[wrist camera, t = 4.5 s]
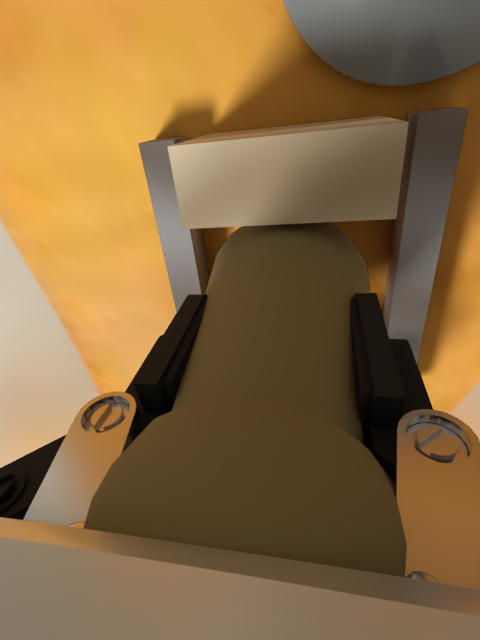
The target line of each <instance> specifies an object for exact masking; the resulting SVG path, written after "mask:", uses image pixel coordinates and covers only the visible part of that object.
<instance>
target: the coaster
mask: <svg viewBox="0 0 480 640" xmlns="http://www.w3.org/2000/svg"><path fill="white" fill-rule="evenodd" d="M283 2H284V5H285V7H286V9H287V12H288V14H289V16H290V19H291V20H292V22H293V24H294V25H295V27H296V29H297V30H298V32H299V34H300V35H301V37H302V38H303V39H304V41H305V42H306V43H307V44H308V46H309V47H310V48H311V49H312V51H313V52H314V53H315V54H316V55H318V56H319V57H320V58H321V59H322V60H323V61H324V62H325V63H326V64H328V65H329V66H331V67H332V68H334V69H335V70H337V71H338V72H340V73H342V74H344V75H346V76H348V77H350V78H353V79H355V80H358V81H361V82H365V83H369V84H373V85H382V86H406V85H414V84H419V83H424V82H429V81H434V80H437V79H440V78H443V77H446V76H449V75H452V74H455V73H457V72H459V71H461V70H463V69H465V68H467V67H470V66H472V65H474V64H476V63H477V62H479V61H480V0H283Z"/></svg>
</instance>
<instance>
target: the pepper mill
mask: <svg viewBox="0 0 480 640" xmlns="http://www.w3.org/2000/svg"><path fill="white" fill-rule="evenodd" d="M355 293H370V284H369V278H368V271H367V265H366V262H365V260H364V258H363V256H362V255H361V253H360V251H359V249H358V248H357V246H356V244H355V243H354V241H353V240H352V239H351V238H350V237H348V236H347V235H346V234H345V233H344V232H342V231H341V230H340V229H339V228H338V227H336V226H335V225H334V224H333V223H330V222H322V223H301V224H280V225H259V226H242V227H241V228H239V229H238V230H236V231H235V232H233V233H232V234H231V235H230V236H229V238H228V239H227V240H226V242H225V243H224V244H223V246H222V247H221V249H220V250H219V251H218V253H217V255H216V259H215V262H214V265H213V269H212V272H211V276H210V279H209V283H208V286H207V290H206V293H205V294H206V295H207V298H206V299H207V302H206V306H205V311H204V315H203V318H202V321H201V324H200V326H199V329H198V332H197V335H196V338H195V341H194V343H193V346H192V349H191V352H190V355H189V358H188V360H187V363H186V366H185V369H184V372H183V375H182V378H181V381H180V385H179V388H178V391H177V395H176V398H175V402H174V405H173V409H172V411H171V412H169V413H166V414H164V415H162V416H159V417H157V418H155V419H154V420H153V421H152V422H151V423H150V424H149V425H148V426H147V427H146V428H145V429H144V430H143V431H142V433H141V434H140V435H139V436H138V437H137V438H136V439H135V440H134V441H133V442H132V443H131V444H130V445H129V446H128V447H127V449H126V450H125V451H124V452H123V453H122V454H121V455H120V456H119V457H118V458H117V459H116V460H115V462H114V463H113V464H112V465H111V467H110V468H109V470H108V472H107V474H106V475H105V477H104V479H103V480H102V482H101V484H100V486H99V487H98V489H97V491H96V492H95V494H94V496H93V498H92V500H91V504H90V507H89V510H88V514H87V517H86V520H85V524H84V527H83V529H90V530H96V531H103V532H110V533H117V534H124V535H131V536H138V537H144V538H151V539H158V540H164V541H171V542H178V543H184V544H191V545H198V546H204V547H211V548H218V549H224V550H231V551H237V552H244V553H251V554H257V555H264V556H270V557H277V558H284V559H290V560H297V561H303V562H309V563H316V564H322V565H329V566H335V567H341V568H348V569H354V570H361V571H367V572H373V573H380V574H386V575H393V576H399V577H405V568H406V553H407V542H406V538H405V534H404V529H403V525H402V521H401V516H400V512H399V508H398V503H397V499H396V494H395V490H394V485H393V482H392V480H391V479H390V477H389V476H388V475H387V473H386V472H385V471H384V469H383V468H382V467H381V465H380V464H379V463H378V461H377V460H376V459H375V457H374V456H373V455H372V453H371V452H370V450H369V449H368V448H366V440H365V436H364V431H363V427H362V422H361V421H360V419H359V409H358V398H357V387H356V375H355V364H354V353H353V341H352V330H351V319H350V304H351V299H352V298H355Z"/></svg>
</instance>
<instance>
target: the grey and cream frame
mask: <svg viewBox="0 0 480 640" xmlns="http://www.w3.org/2000/svg"><path fill="white" fill-rule="evenodd" d="M467 114H468V108H445V109H436V110H426V111H417V112H408V120H407V121H403V120H398V119H394V118H390V117H386V116H382V115H380V116H370V117H361V118H352V119H342V120H333V121H324V122H314V123H305V124H296V125H286V126H277V127H268V128H258V129H249V130H240V131H230V132H221V133H212V134H206V135H203V136H200V137H196V138H193V139H190V140H187V136H184V137H174V138H165V139H156V140H151V141H147V142H142V143H138V144H139V148H140V153H141V157H142V161H143V166H144V170H145V175H146V179H147V183H148V188H149V192H150V197H151V201H152V205H153V210H154V214H155V219H156V223H157V227H158V232H159V236H160V241H161V245H162V249H163V254H164V258H165V263H166V267H167V272H168V276H169V280H170V285H171V289H172V294H173V298H174V302H175V307H176V311H177V312H178V310H179V308H180V307H181V305H182V304H183V302H184V300H185V299H186V297H187V296H188V295H190V294H205V293H206V290H207V286H208V283H209V279H210V278H209V272H208V266H207V259H206V253H205V247H204V241H203V235H202V228H217V227H238V226H259V225H280V224H301V223H322V222H343V221H364V220H385V219H395V222H394V230H393V238H392V246H391V254H390V262H389V270H388V278H387V285H386V293H385V301H384V309H383V319H384V322H385V326H386V329H387V333H388V336H389V339H407V340H408V342H409V344H410V346H411V349H412V352H413V355H414V358H415V360H416V363H417V361H418V356H419V351H420V346H421V341H422V336H423V331H424V326H425V322H426V317H427V312H428V307H429V302H430V297H431V292H432V287H433V282H434V277H435V272H436V267H437V262H438V257H439V252H440V247H441V242H442V238H443V233H444V228H445V223H446V218H447V213H448V208H449V203H450V198H451V193H452V188H453V183H454V178H455V173H456V168H457V163H458V158H459V154H460V149H461V144H462V139H463V134H464V129H465V124H466V119H467Z"/></svg>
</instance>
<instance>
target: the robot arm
mask: <svg viewBox="0 0 480 640" xmlns="http://www.w3.org/2000/svg"><path fill="white" fill-rule="evenodd" d="M206 298H207V295H206V294H190V295H188V296H187V297H186V299H185V300H184V302H183V304H182V305H181V307H180V308H179V310H178V312H177V313H176V315H175V317H174V318H173V320H172V322H171V323H170V325H169V327H168V328H167V330H166V332H165V333H164V335H161V336H160V337H159V338H158V340H157V341H156V343H155V345H154V346H153V348H152V349H151V351H150V353H149V354H148V356H147V357H146V359H145V361H144V362H143V364H142V366H141V367H140V369H139V370H138V372H137V374H136V375H135V377H134V378H133V380H132V382H131V383H130V385H129V387H128V388H127V390H126V391H125V392H110V393H105V394H103V395H100V396H98V397H96V398H94V399H92V400H91V401H89V402H88V403H87V404H86V405H84V406H83V407H82V408H81V409H80V411H79V412H78V414H77V415H76V417H75V419H74V421H73V423H72V425H71V427H70V429H69V431H68V433H67V435H65V436H63V437H61V438H59V439H57V440H55V441H53V442H51V443H49V444H47V445H45V446H43V447H41V448H39V449H37V450H35V451H33V452H31V453H29V454H27V455H25V456H23V457H21V458H20V459H17V460H16V461H14V462H12V463H10V464H8V465H6V466H4V467H2V468H0V640H480V442H479V439H478V437H477V436H476V434H475V433H474V432H473V431H472V429H471V428H470V427H469V426H468V425H466V424H465V423H464V422H462V421H461V420H459V419H458V418H456V417H454V416H452V415H450V414H448V413H445V412H441V411H437V410H433V408H432V405H431V402H430V400H429V397H428V394H427V391H426V388H425V386H424V383H423V380H422V377H421V374H420V372H419V369H418V366H417V363H416V360H415V358H414V355H413V352H412V349H411V346H410V344H409V342H408V340H407V339H389V336H388V333H387V329H386V326H385V322H384V319H383V315H382V312H381V308H380V305H379V301H378V298H377V294H376V293H355V298H352V299H351V304H350V319H351V330H352V341H353V353H354V364H355V375H356V387H357V398H358V409H359V419H360V421H361V422H362V427H363V431H364V436H365V440H366V448H368V449H369V450H370V452H371V453H372V455H373V456H374V457H375V459H376V460H377V461H378V463H379V464H380V465H381V467H382V468H383V469H384V471H385V472H386V473H387V475H388V476H389V477H390V479H391V480H392V482H393V485H394V490H395V494H396V499H397V503H398V508H399V512H400V516H401V521H402V525H403V529H404V534H405V538H406V542H407V553H406V568H405V577H399V576H393V575H386V574H380V573H373V572H367V571H361V570H354V569H348V568H341V567H335V566H329V565H322V564H316V563H309V562H303V561H297V560H290V559H284V558H277V557H270V556H264V555H257V554H251V553H244V552H237V551H231V550H224V549H218V548H211V547H204V546H198V545H191V544H184V543H178V542H171V541H164V540H158V539H151V538H144V537H138V536H131V535H124V534H117V533H110V532H103V531H96V530H90V529H83V527H84V524H85V520H86V517H87V514H88V510H89V507H90V504H91V500H92V498H93V496H94V494H95V492H96V491H97V489H98V487H99V486H100V484H101V482H102V480H103V479H104V477H105V475H106V474H107V472H108V470H109V468H110V467H111V465H112V464H113V463H114V462H115V460H116V459H117V458H118V457H119V456H120V455H121V454H122V453H123V452H124V451H125V450H126V449H127V447H128V446H129V445H130V444H131V443H132V442H133V441H134V440H135V439H136V438H137V437H138V436H139V435H140V434H141V433H142V431H143V430H144V429H145V428H146V427H147V426H148V425H149V424H150V423H151V422H152V421H153V420H154V419H155V418H157V417H159V416H162V415H164V414H166V413H169V412H171V411H172V409H173V405H174V402H175V398H176V395H177V391H178V388H179V385H180V381H181V378H182V375H183V372H184V369H185V366H186V363H187V360H188V358H189V355H190V352H191V349H192V346H193V343H194V341H195V338H196V335H197V332H198V329H199V326H200V324H201V321H202V318H203V315H204V311H205V306H206V302H207V299H206Z"/></svg>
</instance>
